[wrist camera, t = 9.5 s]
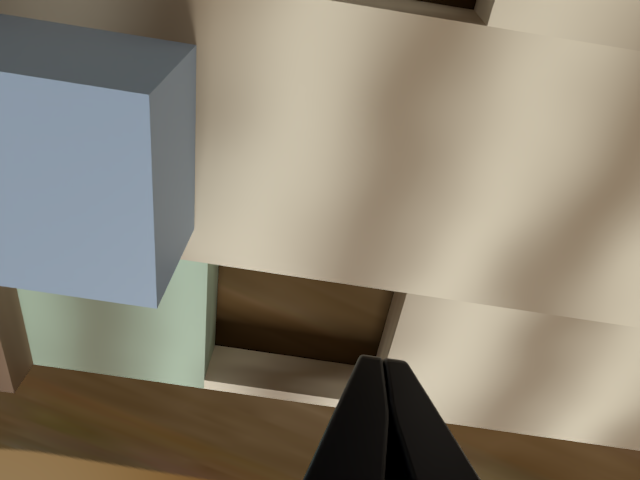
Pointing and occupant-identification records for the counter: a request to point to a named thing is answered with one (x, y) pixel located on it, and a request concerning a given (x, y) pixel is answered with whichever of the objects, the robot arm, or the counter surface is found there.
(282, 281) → the counter surface
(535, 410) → the trap board
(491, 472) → the counter surface
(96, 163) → the block
